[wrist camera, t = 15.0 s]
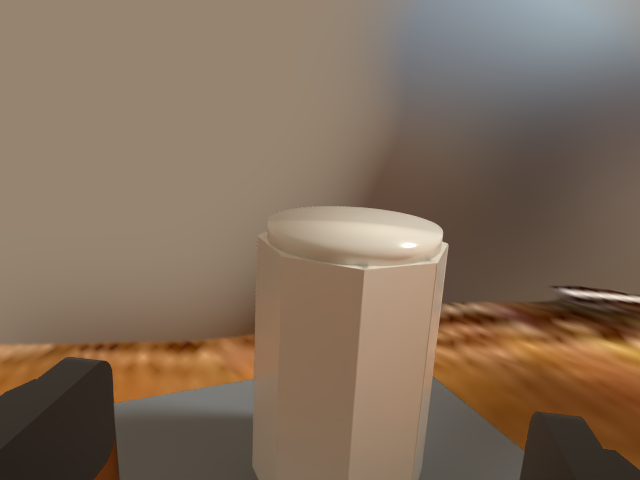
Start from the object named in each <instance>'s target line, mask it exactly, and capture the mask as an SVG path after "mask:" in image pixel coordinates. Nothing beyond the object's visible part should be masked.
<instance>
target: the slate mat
mask: <svg viewBox="0 0 640 480" xmlns="http://www.w3.org/2000/svg"><path fill="white" fill-rule="evenodd" d="M253 409H254V379H252V380H246V381H241V382H235V383H229V384H223V385H218V386H212V387H206V388H200V389H195V390H189V391H183V392H177V393H172V394H166V395H160V396H154V397H149V398H143V399H137V400H131V401H126V402H120V403H114V418H115V432H116V444H117V456H118V468H119V480H258V478H257V475H256V473H255V471H254V469H253V467H252V457H253ZM524 453H525V451H524V450H522V449H521V448H520V447H519V446H517V445H516V444H515V443H514V442H513V441H511V440H510V439H509V438H508V437H506V436H505V435H504V434H503V433H502V432H500V431H499V430H498V429H497V428H495V427H494V426H493V425H492V424H491V423H489V422H488V421H487V420H486V419H484V418H483V417H482V416H481V415H479V414H478V413H477V412H476V411H475V410H473V409H472V408H471V407H470V406H468V405H467V404H466V403H465V402H464V401H462V400H461V399H460V398H459V397H457V396H456V395H455V394H454V393H453V392H451V391H450V390H449V389H448V388H446V387H445V386H444V385H443V384H441V383H440V382H439V381H438V380H437V379H435V378H434V377H432V385H431V393H430V401H429V410H428V418H427V426H426V435H425V443H424V451H423V460H422V468H421V472H420V476H419V479H418V480H520V474H521V469H522V463H523V458H524Z"/></svg>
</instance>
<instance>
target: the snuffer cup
mask: <svg viewBox="0 0 640 480" xmlns="http://www.w3.org/2000/svg"><path fill="white" fill-rule="evenodd" d="M442 236H443V231H442V229H441V228H440V227H439V226H438V225H437V224H435V223H433V222H431V221H428V220H426V219H423V218H419V217H415V216H412V215H408V214H404V213H399V212H393V211H387V210H380V209H370V208H360V207H341V206H339V207H338V206H325V207H324V206H323V207H322V206H321V207H320V206H319V207H304V208H295V209H289V210H285V211H281V212H278V213H275V214H273V215H272V216H270V217H269V219H268V231H267V232H265V233H262V234H260V235H258V236H257V267H256V314H255V316H256V317H255V361H254V409H253V457H252V467H253V469H254V471H255V473H256V475H257V478H258V480H418V479H419V476H420V472H421V468H422V460H423V451H424V443H425V435H426V426H427V418H428V410H429V401H430V393H431V385H432V377H433V368H434V360H435V352H436V343H437V335H438V327H439V318H440V310H441V302H442V294H443V285H444V277H445V268H446V259H447V252H448V244H447V243H444V242H442Z"/></svg>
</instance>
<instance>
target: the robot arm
mask: <svg viewBox="0 0 640 480" xmlns="http://www.w3.org/2000/svg"><path fill="white" fill-rule="evenodd" d="M114 438H115V418H114V397H113V376H112V369H111V366H110V364H109V363H108V362H107V361H101V360H92V359H84V358H75V357H67V358H64V359H63V360H61V361H60V362H59V363H58V364H56V365H55V366H54V367H52V368H51V369H50V370H49V371H47V372H46V373H45V374H43V375H42V376H41V377H39V378H38V379H34V380H32V381H30V382H27V383H25V384H23V385H21V386H19V387H16V388H14V389H12V390H10V391H7V392H5V393H4V394H3V395H1V396H0V480H93V479H94V478H95V477H96V475H97V474H98V473H99V472H100V470H101V469H102V468H103V466H104V465H105V463H106V462H107V460H108V458H109V456H110V453H111V451H112V447H113V443H114ZM520 480H640V470H639V469H637V468H636V467H635V466H634V465H632V464H631V463H630V462H629V461H628V460H626V459H625V458H624V457H623V456H621V455H620V454H619V453H618V452H616V451H615V450H607V449H603V448H602V446H601V445H600V443H599V442H598V440H597V438H596V437H595V435H594V434H593V432H592V431H591V429H590V428H589V426H588V425H587V423H586V422H585V421H584V419H583V418H581V417H578V416H569V415H560V414H552V413H543V412H535V413H534V414H533V416H532V418H531V421H530V426H529V431H528V436H527V442H526V447H525V453H524V458H523V463H522V469H521V474H520Z"/></svg>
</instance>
